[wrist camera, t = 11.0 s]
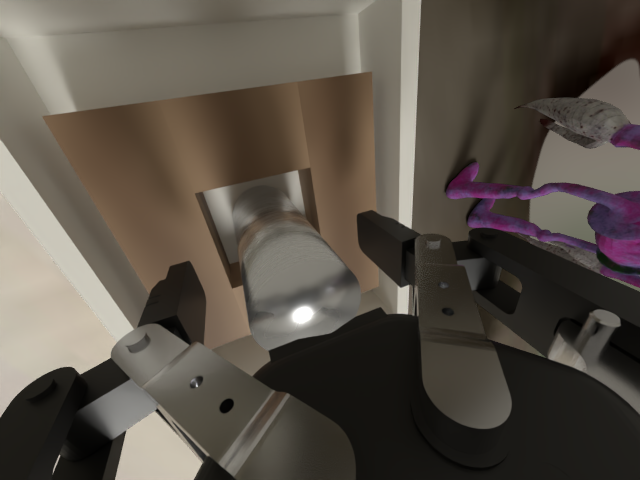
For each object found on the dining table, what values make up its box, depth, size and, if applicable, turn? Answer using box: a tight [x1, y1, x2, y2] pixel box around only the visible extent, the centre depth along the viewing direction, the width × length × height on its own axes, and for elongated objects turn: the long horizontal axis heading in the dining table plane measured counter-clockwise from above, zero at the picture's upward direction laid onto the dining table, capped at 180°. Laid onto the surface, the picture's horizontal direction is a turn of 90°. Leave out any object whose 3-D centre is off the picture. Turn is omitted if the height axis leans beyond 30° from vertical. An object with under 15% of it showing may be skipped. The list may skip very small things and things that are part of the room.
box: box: [0, 0, 421, 376], centre depth 16 cm, size 18×22×5 cm
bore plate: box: [42, 72, 379, 349], centre depth 16 cm, size 14×14×3 cm
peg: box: [232, 185, 361, 351], centre depth 13 cm, size 4×4×10 cm
